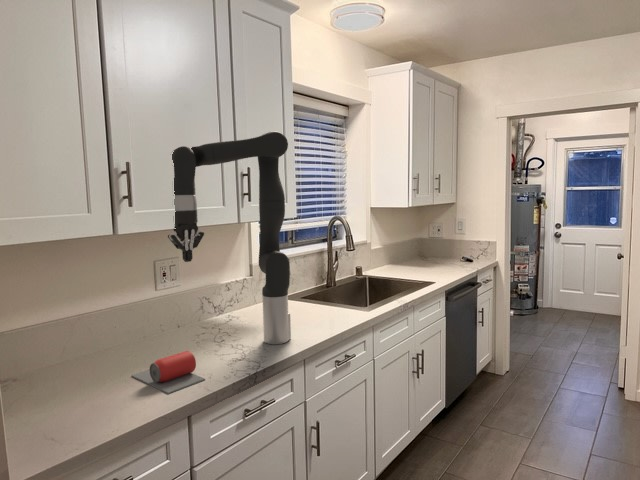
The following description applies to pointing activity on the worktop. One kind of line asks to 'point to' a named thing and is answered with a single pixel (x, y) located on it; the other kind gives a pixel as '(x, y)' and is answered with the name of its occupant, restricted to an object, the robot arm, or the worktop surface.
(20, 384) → the worktop surface
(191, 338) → the worktop surface
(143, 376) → the slate mat
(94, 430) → the worktop surface
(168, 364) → the beer can
